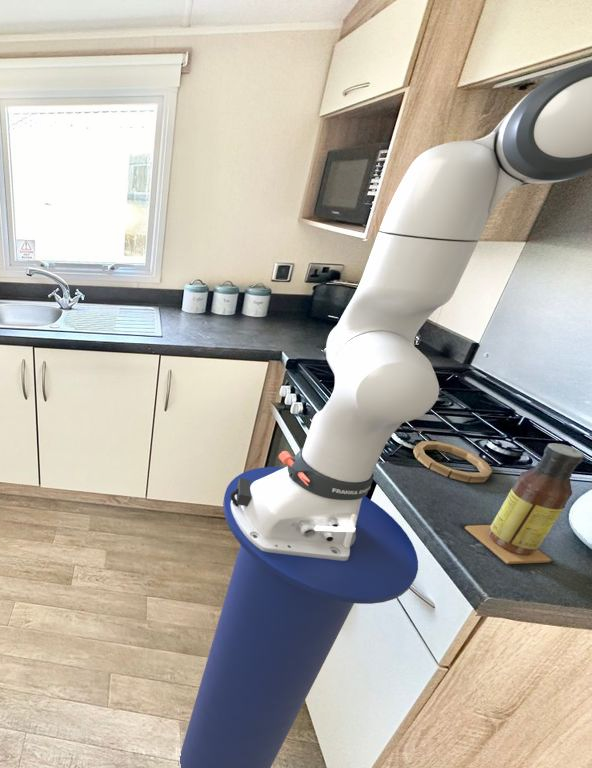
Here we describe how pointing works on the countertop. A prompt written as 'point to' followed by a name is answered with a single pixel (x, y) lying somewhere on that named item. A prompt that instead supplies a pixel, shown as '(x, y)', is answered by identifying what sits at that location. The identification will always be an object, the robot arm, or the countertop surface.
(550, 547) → the countertop surface
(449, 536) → the countertop surface
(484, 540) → the cork coaster
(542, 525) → the sauce bottle
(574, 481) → the countertop surface
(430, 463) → the birch ring
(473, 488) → the countertop surface
